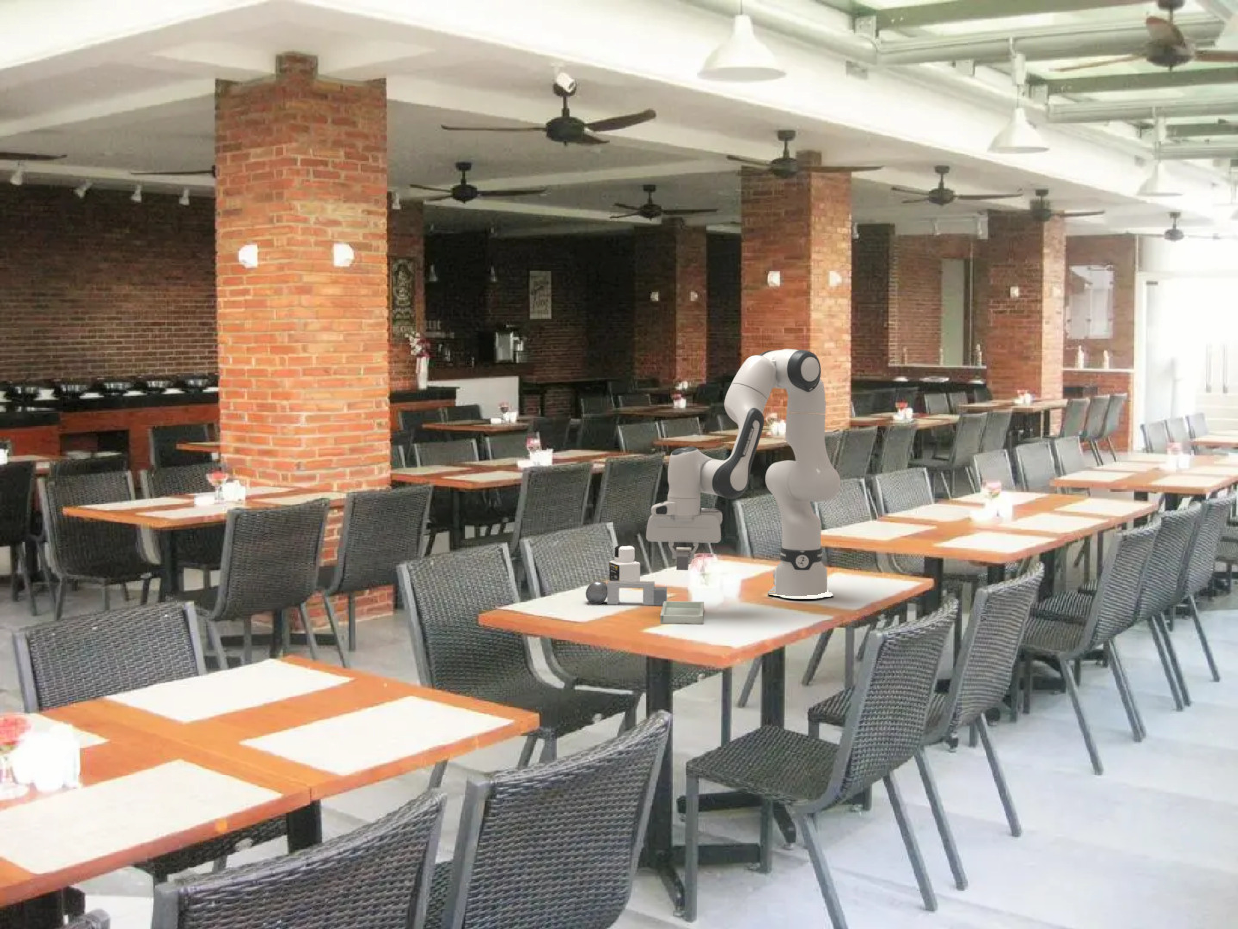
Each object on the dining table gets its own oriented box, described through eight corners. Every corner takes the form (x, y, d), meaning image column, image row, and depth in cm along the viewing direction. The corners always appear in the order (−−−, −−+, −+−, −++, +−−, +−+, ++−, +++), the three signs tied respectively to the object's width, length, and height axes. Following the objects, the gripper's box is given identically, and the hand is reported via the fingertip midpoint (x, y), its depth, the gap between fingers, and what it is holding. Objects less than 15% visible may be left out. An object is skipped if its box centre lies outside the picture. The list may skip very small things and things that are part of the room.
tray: (663, 608, 366) (663, 601, 366) (703, 609, 365) (703, 601, 365) (660, 623, 346) (660, 615, 346) (702, 624, 345) (702, 616, 345)
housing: (587, 601, 376) (587, 580, 376) (667, 602, 374) (667, 581, 374) (585, 604, 371) (585, 583, 371) (666, 605, 370) (666, 584, 369)
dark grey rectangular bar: (676, 561, 364) (676, 547, 364) (691, 562, 364) (691, 547, 364) (674, 569, 351) (674, 554, 350) (689, 570, 350) (689, 555, 350)
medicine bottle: (608, 584, 404) (609, 544, 403) (630, 582, 407) (630, 543, 406) (618, 587, 397) (618, 548, 396) (640, 586, 400) (640, 546, 399)
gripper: (722, 506, 360) (721, 557, 362) (647, 505, 362) (646, 556, 363) (722, 509, 354) (721, 561, 355) (645, 508, 356) (645, 559, 357)
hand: (683, 558), depth 359 cm, fingers closed on dark grey rectangular bar, 3 cm apart
